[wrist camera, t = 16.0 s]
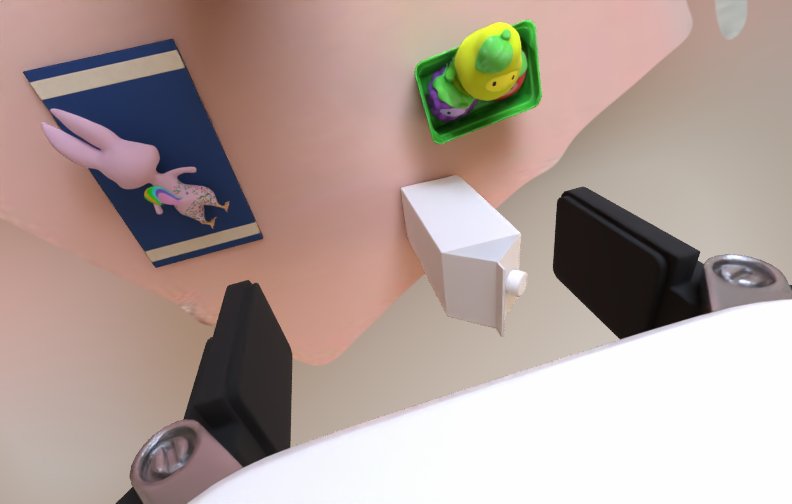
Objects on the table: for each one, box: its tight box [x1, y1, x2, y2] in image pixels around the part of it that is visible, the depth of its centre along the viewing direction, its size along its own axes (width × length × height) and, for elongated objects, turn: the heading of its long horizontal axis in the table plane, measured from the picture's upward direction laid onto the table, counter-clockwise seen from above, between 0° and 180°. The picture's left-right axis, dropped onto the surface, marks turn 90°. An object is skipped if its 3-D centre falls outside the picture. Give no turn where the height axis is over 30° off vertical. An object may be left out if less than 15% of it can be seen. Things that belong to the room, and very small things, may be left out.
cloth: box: [23, 39, 263, 268], centre depth 36 cm, size 20×12×1 cm, turn 11°
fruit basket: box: [415, 20, 542, 144], centre depth 33 cm, size 11×9×11 cm
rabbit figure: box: [41, 109, 229, 229], centre depth 33 cm, size 6×6×15 cm
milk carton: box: [401, 175, 527, 337], centre depth 37 cm, size 7×7×19 cm
